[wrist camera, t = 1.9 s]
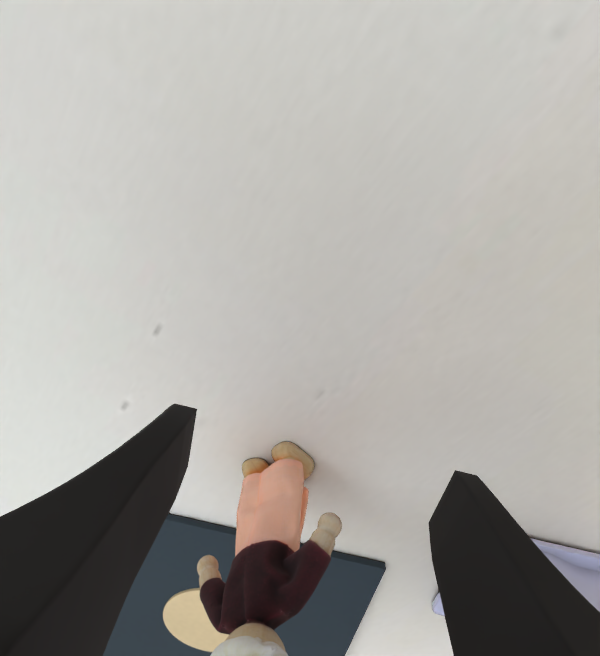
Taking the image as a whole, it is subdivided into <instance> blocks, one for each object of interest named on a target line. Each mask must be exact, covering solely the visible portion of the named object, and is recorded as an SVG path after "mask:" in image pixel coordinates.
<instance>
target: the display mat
mask: <svg viewBox="0 0 600 656" xmlns="http://www.w3.org/2000/svg"><path fill="white" fill-rule="evenodd" d="M236 530H237V529H234V528H230V527H225V526H221V525H216V524H212V523H207V522H203V521H199V520H194V519H190V518H185V517H181V516H177V515H172V514H168V515H167V517H166V519H165V521H164V523H163V525H162V527H161V529H160V531H159V533H158V535H157V537H156V539H155V541H154V543H153V545H152V547H151V549H150V551H149V552H148V554H147V556H146V558H145V560H144V562H143V564H142V566H141V568H140V570H139V572H138V574H137V576H136V578H135V580H134V582H133V584H132V586H131V589H130V591H129V593H128V595H127V597H126V599H125V602H124V604H123V607H122V609H121V612H120V614H119V617H118V619H117V622H116V624H115V626H114V629H113V631H112V634H111V636H110V639H109V641H108V644H107V646H106V649H105V651H104V654H103V656H210V655H211V654H212V652H213V651H214V650H215V648H216V647H217V646H218V645H219V644H221V643H222V642H224V641H225V640H226V638H227V637H228V636H229V635H228V634H223V633H220V632H218V631H217V630H216V629H215V628H214V627H213V625H212V623H211V622H210V620H209V618H208V616H207V613H206V611H205V609H204V606H203V604H202V602H201V600H200V585H199V577H200V576H199V574H198V571H197V564H198V562H199V560H200V559H201V558H202V557H203V556H206V555H211V556H214V557H215V558H216V560H217V561H218V571H219V572H220V574H221V578H222V581H223V582H225V583H226V580H227V577H228V575H229V572H230V568H231V564H232V561H233V559H234V558H235V545H236ZM303 545H304V544H300V548H301V547H302V546H303ZM300 548H299V549H300ZM385 570H386V568H385V563H384V562H380V561H375V560H371V559H366V558H362V557H358V556H353V555H349V554H344V553H340V552H335V551H332V553H331V561H330V563H329V565H328V567H327V569H326V571H325V573H324V574H323V576H322V578H321V580H320V582H319V583H318V585H317V587H316V589H315V591H314V592H313V594H312V595H311V597H310V599H309V600H308V602H307V603H306V604H305V606H304V607H303V609H302V610H301V611H300V612H299V613H298V614H297V615H295V616H294V617H292V618H290V619H289V620H287V621H286V622H285V623H283V624H281V625H280V626H278V627H277V628H276V629H275V630H274V631H275V632H276V633H277V635H278V636H279V637H280V639H281V641H282V643H283V645H284V647H285V651H286V653H287V654H288V656H345V654H346V652H347V650H348V648H349V645H350V643H351V641H352V639H353V637H354V635H355V633H356V631H357V629H358V627H359V624H360V622H361V620H362V618H363V616H364V614H365V612H366V610H367V608H368V605H369V603H370V601H371V599H372V597H373V595H374V593H375V591H376V589H377V587H378V584H379V582H380V580H381V578H382V576H383V574H384V572H385Z"/></svg>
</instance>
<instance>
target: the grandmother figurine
mask: <svg viewBox="0 0 600 656" xmlns="http://www.w3.org/2000/svg"><path fill="white" fill-rule="evenodd" d="M271 454H272V457H273V459H274V461H275V462H274V463H273V464H271V465H270V466H269V465H268V464H267V463H266V462H265V461H264V460H263V459H259V458H253V459H249V460H246V461H245V462H244V463H243V465H242V471H243V475H244V480H243V484H242V490H241V495H240V500H239V504H238V509H237V530H236V545H235V558H234V559H233V561H232V564H231V568H230V572H229V575H228V577H227V580H226V583H225V582H223V581H222V578H221V574H220V572H219V571H218V561H217V560H216V558H215V557H214V556H211V555H206V556H203V557H202V558H201V559H200V560H199V562H198V564H197V571H198V574H199V576H200V577H199V585H200V600H201V602H202V604H203V606H204V609H205V611H206V613H207V616H208V618H209V620H210V622H211V623H212V625H213V627H214V628H215V629H216V630H217V631H218V632H220V633H223V634H228V635H229V636H228V637H227V638H226V640H225V641H224V642H222V643H221V644H219V645H218V646H217V647H216V648H215V650H214V651H213V652H212V654H211V655H210V656H288V654H287V653H286V651H285V647H284V645H283V643H282V641H281V639H280V637H279V636H278V635H277V633H276V632H275V631H274V630H275V629H276V628H277V627H278V626H280V625H281V624H283V623H285V622H286V621H287V620H289V619H290V618H292V617H294V616H295V615H297V614H298V613H299V612H300V611H301V610H302V609H303V607H304V606H305V604H306V603H307V602H308V600H309V599H310V597H311V595H312V594H313V592H314V591H315V589H316V587H317V585H318V583H319V582H320V580H321V578H322V576H323V574H324V573H325V571H326V569H327V567H328V565H329V563H330V561H331V553H332V550H333V548H334V545H335V538H336V537H337V536H338V535H339V533H340V531H341V529H342V523H341V520H340V518H339V517H338V516H337V515H336V514H334V513H325V514H323V515H322V516H321V517H320V519H319V521H318V528H317V529H316V530H315V531H314V532H313V534H312V536H311V538H310V540H308V541H307V542H306V543H305V544H304V545H303V546H302V547H301V548H300V538H301V533H302V529H303V525H304V520H305V514H306V509H307V504H308V493H309V491H308V489H307V488H306V487H304V480H305V479H307V478H308V477H309V476H310V475H311V473H312V472H313V469H314V462H313V460H312V458H311V457H310V456H309V455H307V454H306V453H305V452H304V451H302V450H301V449H300V448H299V447H298V446H296V445H295V444H294V443H291V442H281V443H279V444H278V445H276V446H275V447H274V448H273V449H272V453H271ZM299 548H300V549H299Z"/></svg>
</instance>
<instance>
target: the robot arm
mask: <svg viewBox="0 0 600 656" xmlns="http://www.w3.org/2000/svg"><path fill="white" fill-rule="evenodd" d="M196 411H197V409H195V408H191V407H187V406H182V405H178V404H173V405H171V406H170V407H169V408H167V409H166V410H165V411H164V412H163V413H162V414H161V415H159V416H158V417H157V418H156V419H155V420H154V421H152V422H151V423H150V424H149V425H147V426H146V427H145V428H144V429H143V430H141V431H140V432H139V433H138V434H136V435H135V436H134V437H132V438H131V439H130V440H128V441H127V442H126V443H124V444H123V445H122V446H120V447H119V448H118V449H116V450H115V451H113V452H112V453H111V454H109V455H108V456H106V457H105V458H103V459H102V460H100V461H99V462H97V463H96V464H94V465H93V466H91V467H90V468H88V469H87V470H85V471H84V472H82V473H81V474H79V475H77V476H76V477H74V478H72V479H71V480H69V481H67V482H66V483H64V484H62V485H61V486H59V487H57V488H55V489H54V490H52V491H50V492H48V493H46V494H45V495H43V496H41V497H39V498H37V499H35V500H33V501H31V502H29V503H27V504H25V505H23V506H21V507H19V508H18V509H15V510H13V511H11V512H9V513H7V514H5V515H3V516H1V517H0V656H103V654H104V651H105V649H106V646H107V644H108V641H109V639H110V636H111V634H112V631H113V629H114V626H115V624H116V622H117V619H118V617H119V614H120V612H121V609H122V607H123V604H124V602H125V599H126V597H127V595H128V593H129V591H130V589H131V586H132V584H133V582H134V580H135V578H136V576H137V574H138V572H139V570H140V568H141V566H142V564H143V562H144V560H145V558H146V556H147V554H148V552H149V551H150V549H151V547H152V545H153V543H154V541H155V539H156V537H157V535H158V533H159V531H160V529H161V527H162V525H163V523H164V521H165V519H166V517H167V515H168V513H169V511H170V509H171V507H172V505H173V503H174V501H175V499H176V496H177V493H178V491H179V488H180V486H181V483H182V480H183V478H184V475H185V472H186V470H187V467H188V461H189V455H190V449H191V443H192V436H193V430H194V424H195V418H196ZM429 532H430V544H431V553H432V561H433V566H434V571H435V575H436V580H437V584H438V589H439V592H438V594H437V596H436V598H435V599H434V601H433V603H432V609H433V612H434V613H436V614H439V615H443V616H445V619H446V623H447V627H448V632H449V636H450V640H451V645H452V649H453V654H454V656H600V554H597V553H592V552H588V551H583V550H579V549H575V548H570V547H566V546H562V545H557V544H553V543H549V542H544V541H540V540H536V539H531V538H530V537H529V536H528V535H527V534H526V533H525V532H524V530H523V529H522V528H521V527H520V526H519V524H518V523H517V522H516V521H515V520H514V518H513V517H512V516H511V515H510V514H509V512H508V511H507V510H506V509H505V508H504V506H503V505H502V504H501V503H500V502H499V500H498V499H497V498H496V497H495V496H494V494H493V493H492V492H491V491H490V490H489V489H488V487H487V486H486V485H485V484H484V483H483V482H482V481H481V480H480V478H479V477H478V476H477V475H472V474H468V473H464V472H460V471H456V470H455V472H454V474H453V476H452V478H451V480H450V482H449V484H448V486H447V488H446V490H445V492H444V494H443V495H442V497H441V499H440V501H439V503H438V505H437V507H436V509H435V511H434V513H433V515H432V517H431V519H430V521H429Z"/></svg>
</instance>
